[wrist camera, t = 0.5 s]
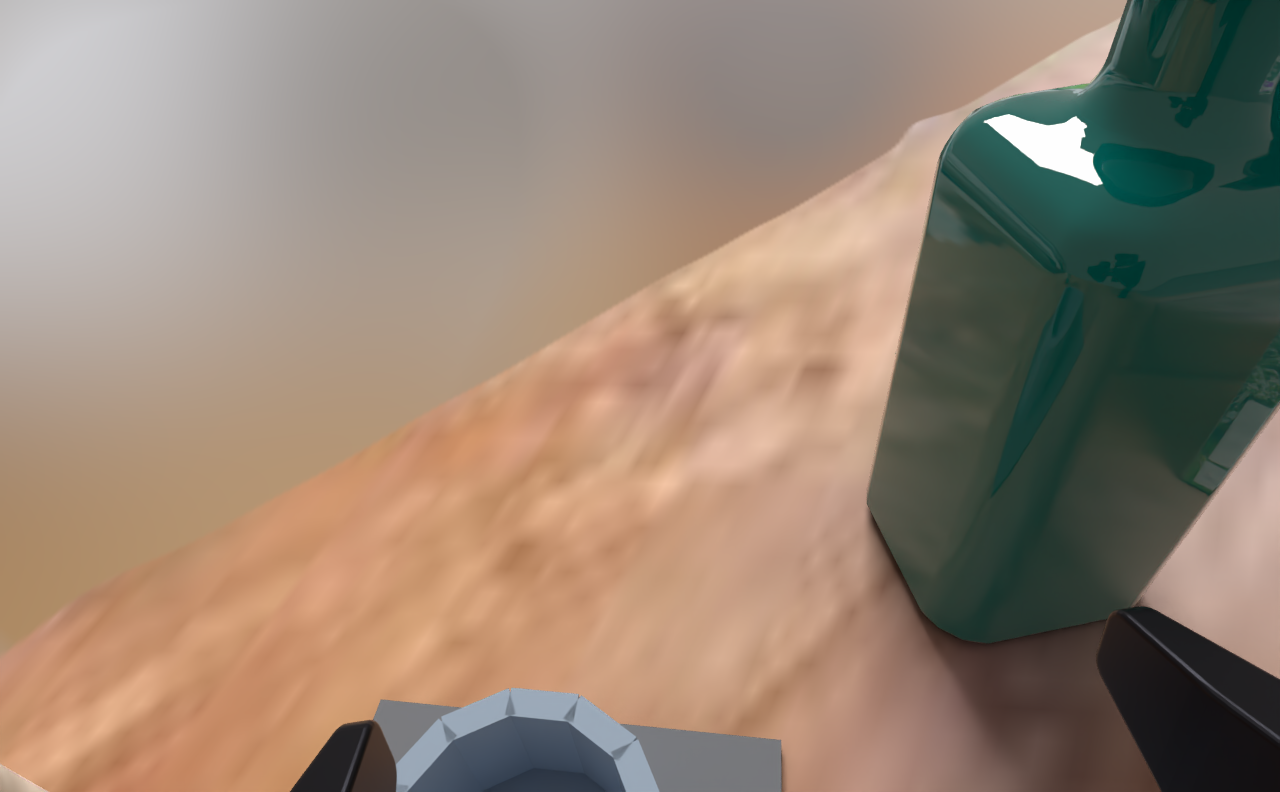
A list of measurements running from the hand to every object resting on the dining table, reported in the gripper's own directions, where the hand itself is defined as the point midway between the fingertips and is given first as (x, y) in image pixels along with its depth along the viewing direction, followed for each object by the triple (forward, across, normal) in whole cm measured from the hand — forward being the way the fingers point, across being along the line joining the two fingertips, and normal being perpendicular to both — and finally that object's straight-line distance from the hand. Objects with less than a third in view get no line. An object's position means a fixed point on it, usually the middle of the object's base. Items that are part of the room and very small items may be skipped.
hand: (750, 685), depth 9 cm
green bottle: (+15, -14, +14) cm, 25 cm away
